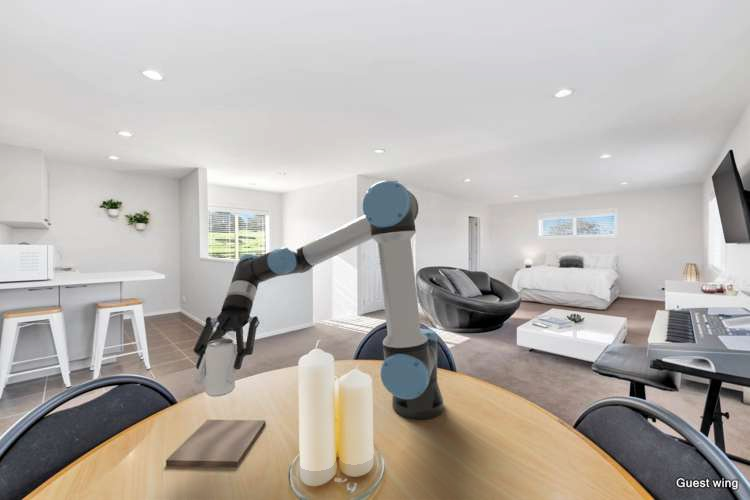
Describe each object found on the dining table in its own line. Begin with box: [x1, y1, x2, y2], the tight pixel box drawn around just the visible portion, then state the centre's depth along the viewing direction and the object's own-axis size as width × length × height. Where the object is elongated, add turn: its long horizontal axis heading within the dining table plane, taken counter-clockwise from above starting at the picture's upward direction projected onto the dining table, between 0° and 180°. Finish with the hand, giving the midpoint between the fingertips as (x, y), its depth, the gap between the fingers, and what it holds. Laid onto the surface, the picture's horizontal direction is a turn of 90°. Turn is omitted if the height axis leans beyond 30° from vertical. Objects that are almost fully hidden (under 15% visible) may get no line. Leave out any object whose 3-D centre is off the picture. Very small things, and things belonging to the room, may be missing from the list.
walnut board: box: [165, 419, 266, 468], centre depth 77 cm, size 16×16×1 cm
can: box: [205, 338, 236, 398], centre depth 77 cm, size 6×6×12 cm
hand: (213, 382), depth 73 cm, fingers closed on can, 6 cm apart
